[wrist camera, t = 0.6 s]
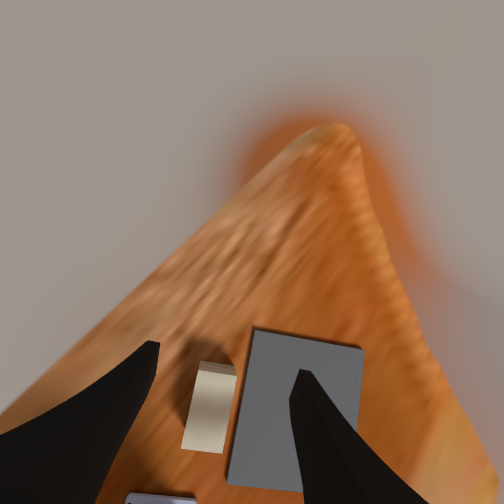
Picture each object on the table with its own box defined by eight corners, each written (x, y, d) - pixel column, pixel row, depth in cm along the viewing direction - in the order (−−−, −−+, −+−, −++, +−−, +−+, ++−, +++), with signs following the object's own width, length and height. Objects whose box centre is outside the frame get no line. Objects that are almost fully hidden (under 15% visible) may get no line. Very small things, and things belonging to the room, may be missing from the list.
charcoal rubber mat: (347, 493, 31) (349, 497, 30) (226, 480, 29) (226, 484, 28) (362, 349, 34) (364, 350, 34) (254, 329, 32) (255, 330, 32)
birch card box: (221, 432, 30) (222, 453, 26) (185, 427, 30) (180, 448, 26) (234, 365, 32) (236, 376, 28) (200, 359, 31) (198, 370, 27)
